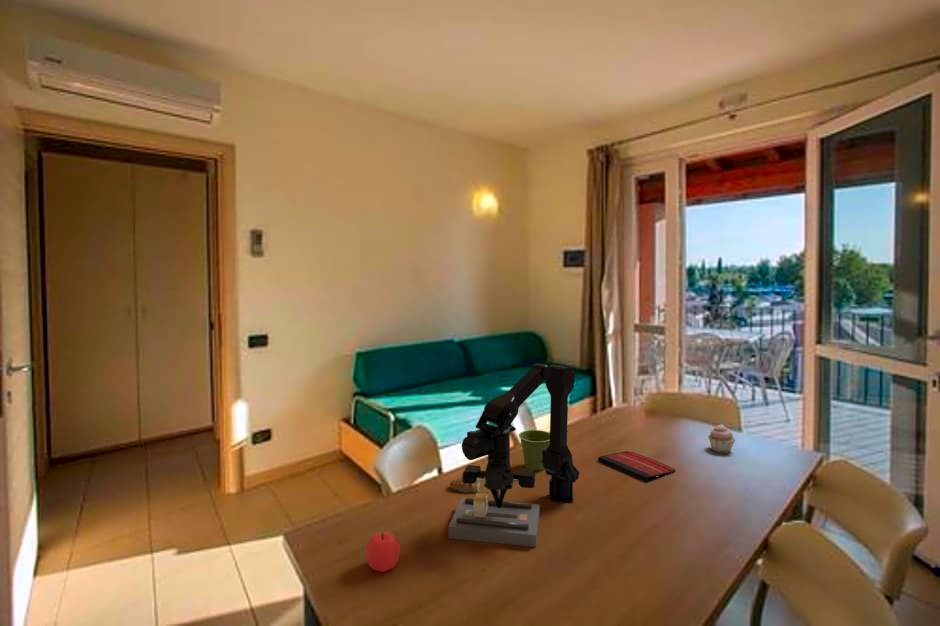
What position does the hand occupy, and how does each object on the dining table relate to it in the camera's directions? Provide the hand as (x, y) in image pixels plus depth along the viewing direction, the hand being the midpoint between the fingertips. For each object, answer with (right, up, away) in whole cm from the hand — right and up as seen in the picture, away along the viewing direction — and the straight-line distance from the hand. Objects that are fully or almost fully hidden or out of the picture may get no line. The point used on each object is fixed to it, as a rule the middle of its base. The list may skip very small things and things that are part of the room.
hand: (499, 507), depth 128 cm
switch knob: (-5, -2, +1) cm, 5 cm away
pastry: (-9, -4, +23) cm, 25 cm away
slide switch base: (-1, -5, +1) cm, 5 cm away
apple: (-28, -7, -16) cm, 33 cm away
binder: (+50, -2, +39) cm, 63 cm away
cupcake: (+86, 0, +53) cm, 101 cm away
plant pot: (+15, -2, +39) cm, 42 cm away
